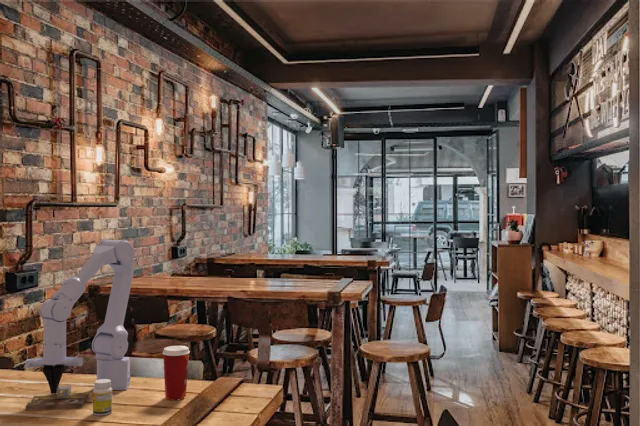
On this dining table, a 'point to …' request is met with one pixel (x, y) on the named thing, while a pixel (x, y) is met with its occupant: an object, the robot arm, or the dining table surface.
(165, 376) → the paper cup
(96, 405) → the supplement bottle
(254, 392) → the dining table surface
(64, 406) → the wooden mechanism board
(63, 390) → the sliding leg
